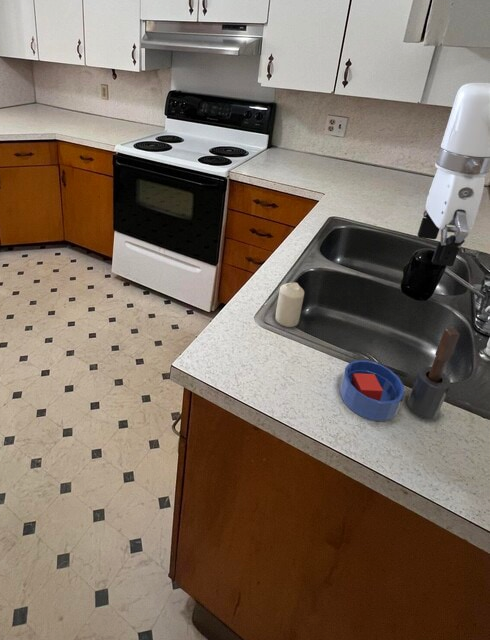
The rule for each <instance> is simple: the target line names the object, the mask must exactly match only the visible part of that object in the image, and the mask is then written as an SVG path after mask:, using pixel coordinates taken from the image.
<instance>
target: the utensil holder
mask: <svg viewBox="0 0 490 640" xmlns="http://www.w3.org/2000/svg"><path fill="white" fill-rule="evenodd" d="M431 367H432V366H421V367H420V368H418V370H417V373H416V376H415V379H414V381H413V384H412V387H411V389H410V391H409V395H408V398H407V402H406V404H407V407H408V409H409V410H410V411H411V412H412V414H414V415H415V416H417V417H419V418H422V419H424V420H435V419H436V418H437V416H438V415H439V412H440V411H441V409H442V406H443V404H444V402H445V399H446V397H447V395H448V392H449V390H450V387H451V379H450V378H449V377H448V376H447V374H446V373H444V372H443V374H442V376H441V378H440V381H439V383H435V382H433V381H431V380H429V379H428V375H429V373H430V370H431Z"/></svg>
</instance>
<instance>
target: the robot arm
mask: <svg viewBox="0 0 490 640" xmlns="http://www.w3.org/2000/svg"><path fill="white" fill-rule="evenodd" d="M445 127H446V128H445V131H444V134H443V137H442V141H441V144H440V147H439V150H438V153H437V156H436V160H435V163H434V167H435V168H437V169H436V172H435V175H434V177H433V180H432V182H431V184H430V188H429V191H428V194H427V198H426V201H425V210H424V211H423V214H422V216H423V217H422V219H421V221H420V226H419V229H418V232H417V237H418V238H420V239H428V240H436V239H437V238H438V236H439V232H440V242H439V241H438V242H437V243H436V246H435V249H434V252H433V256H432V259H431V262H432V264H433V265H437V266H444V267H453V266H454V264H455V261H456V259H457V257H458V254H459V251H460V249H461V248H462V246H463V244H464V243H465V242H466V239H467V237H468V236H469V235H470V233H471V232H472V231H473V227H474V226H475V225H474V224H475V222H476V219H477V215H478V212H479V208H480V206H481V201H482V197H483V193H484V189H485V182H486V177H487V176H488V175H489V173H490V82H468V83H465V84H462V85H461V86H460V87H459V88H458V90H457V93H456V95H455V98H454V101H453V105H452V108H451V111H450V115H449V117H448V121H447V125H446V126H445ZM448 233H453V234H451V235H449V236H448Z"/></svg>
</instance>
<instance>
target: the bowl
mask: <svg viewBox="0 0 490 640" xmlns="http://www.w3.org/2000/svg"><path fill="white" fill-rule="evenodd" d="M353 373H361V374H375V376H376V378H377V380H378V382H379V384H380V386H381V388H382V390H383V393H382V396H381V399H380V401H378V400H375V399H372V398H369V397H367V396H365V395H364V394H362V393H360V392H359V391H358V390H357V389H356V388H355V387H354V386H353V385H352V384H351V380H352V377H353ZM339 392H340V395H341V398H342V401H343V402H344V404H345V405H346V406H347V408H348V409H350V411H352V412H353V413H354V414H356V415H358V416H360V417H361V418H363V419H366V420H369V421H371V422H387V421H389V420H391V419H393V418H395V417H396V416H397V414H398V412H399V410H400V408H401V405H402V402H403V401H404V398H405V397H404V396H405V385H404V383H403V382H402V380H401V379H400V377H399V376H398V375H397V374H396V373H395V372H394V371H393V370H392V369H390V368H389V367H387V366H385V365H383V364H381V363H379V362H376V361H372V360H368V359H357V360H353V361H350V362H349V363H348V364H346V366H345V367H344V371H343V375H342V378H341V381H340V389H339Z"/></svg>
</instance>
